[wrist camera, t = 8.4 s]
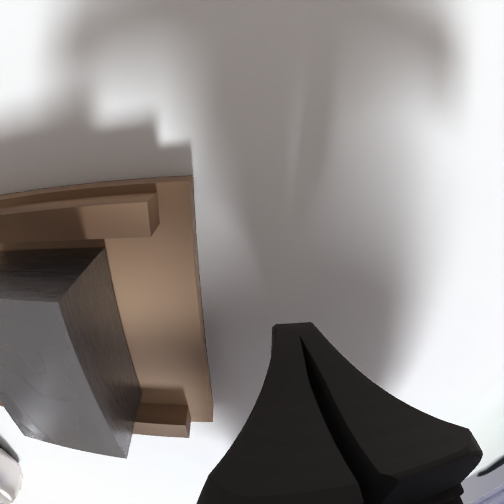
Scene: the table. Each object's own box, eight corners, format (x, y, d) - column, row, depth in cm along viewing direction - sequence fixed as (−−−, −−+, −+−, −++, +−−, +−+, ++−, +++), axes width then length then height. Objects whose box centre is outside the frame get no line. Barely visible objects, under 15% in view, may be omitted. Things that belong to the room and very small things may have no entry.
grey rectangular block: (142, 394, 13) (126, 458, 9) (50, 383, 12) (24, 435, 9) (104, 247, 10) (57, 302, 7) (0, 250, 10) (-54, 293, 6)
